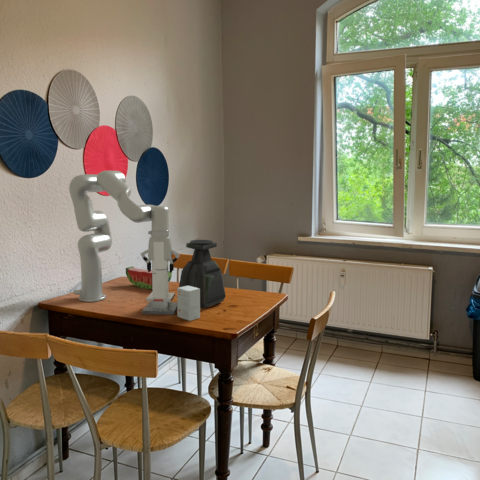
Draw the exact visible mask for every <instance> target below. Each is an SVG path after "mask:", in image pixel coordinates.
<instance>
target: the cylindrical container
mask: <svg viewBox="0 0 480 480" xmlns="http://www.w3.org/2000/svg"><path fill="white" fill-rule="evenodd" d="M153 243H154V260H151V270H152V289H151V290H152V292H153V297H156V298H164V297H168V296H169V293H170V292H169V286H170V285H169V283H168V271H169V261H168V260H164V242H153Z"/></svg>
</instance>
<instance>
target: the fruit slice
mask: <svg viewBox="0 0 480 480" xmlns="http://www.w3.org/2000/svg"><path fill="white" fill-rule="evenodd" d="M172 273H173V272H172ZM172 273H170V270H168V283H169V282H170V281H171V280H172V275H173V274H172ZM125 274H126V278H127V280H128V281H129V282H130V283H131V284H132V285H133V286H135V287H138V288H140V289H144V288H145V289H146V290H153V289H152V269H151V271H150V272H148V270H147V269H143V268H142V269H141V268H136V267H135V266H129V267H125Z"/></svg>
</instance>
